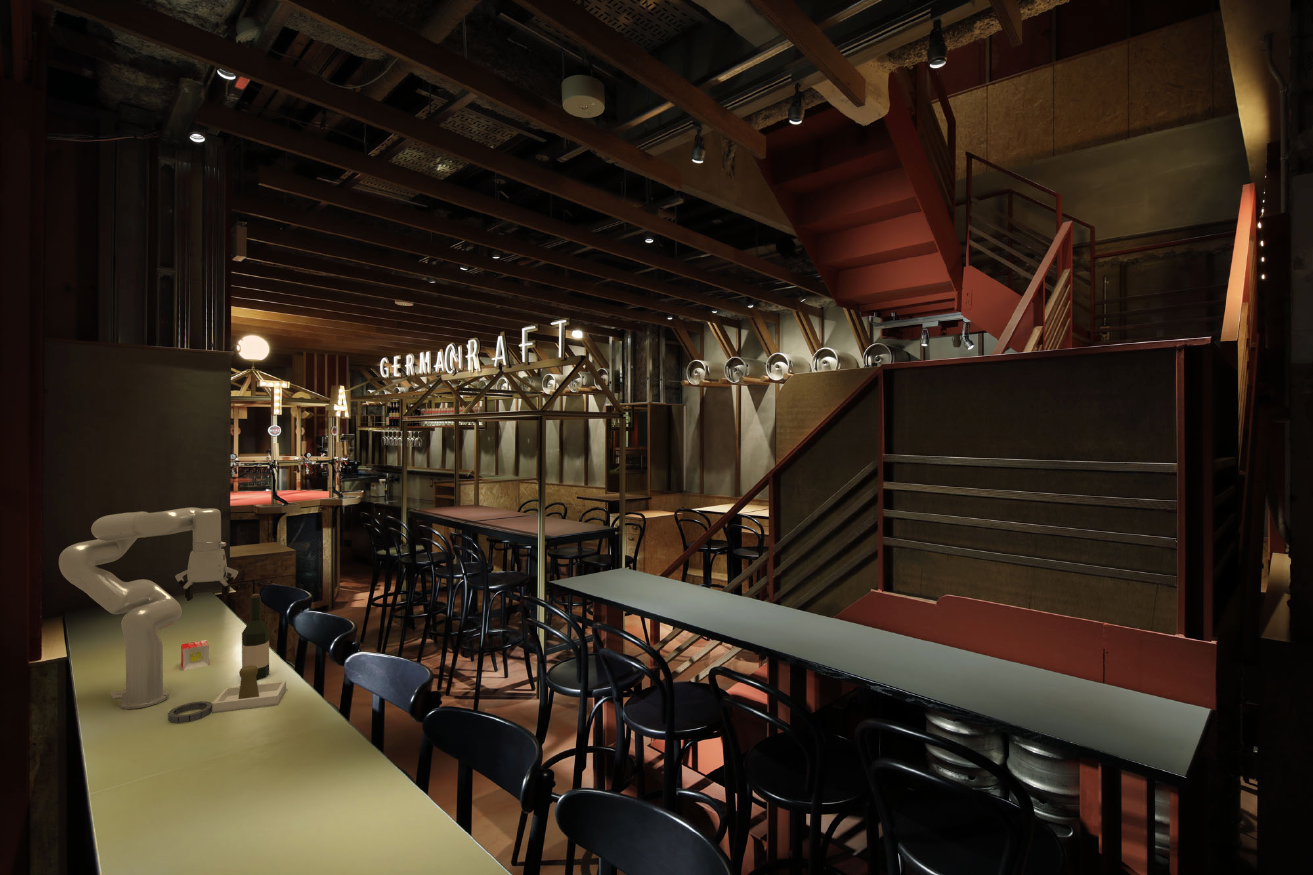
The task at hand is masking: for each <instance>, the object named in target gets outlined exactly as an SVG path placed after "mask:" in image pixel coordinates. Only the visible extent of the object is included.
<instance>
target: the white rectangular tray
mask: <svg viewBox="0 0 1313 875" xmlns="http://www.w3.org/2000/svg"><path fill="white" fill-rule="evenodd" d="M257 685H258V692H259V697H254V698H245V699H238V697H239V691H240V685H237V686H231V687H230V686H229V687H225V688H224V689H223V690H222V691H221V692H220V694H219V695H218V696H217V697H216V698H215V700H213V702H211V703H212V712H211V713H212V714H215V713H225V712H231V711H232V712H233V711H240V710H248V709H256V708H263V707H272V706H278V705H279V703H280V701H281V699H282V697H283V696H284V694H285V692H286V690H287V680H283V681H282V680H281V681H273V682H265V683H257Z"/></svg>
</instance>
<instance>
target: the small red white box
mask: <svg viewBox="0 0 1313 875" xmlns="http://www.w3.org/2000/svg"><path fill="white" fill-rule="evenodd" d="M180 655H181V656H180V658H181V659H180V660H181V661H180V665H181V668H182V671H188V670H193V669H194V670H195V669H198V668H202V667H208V666H210V644H209V642H208V640H207V639H205V640H203V639H202V640H198V641H191V642H188V643H187V642H186V643H181V644H180Z"/></svg>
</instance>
